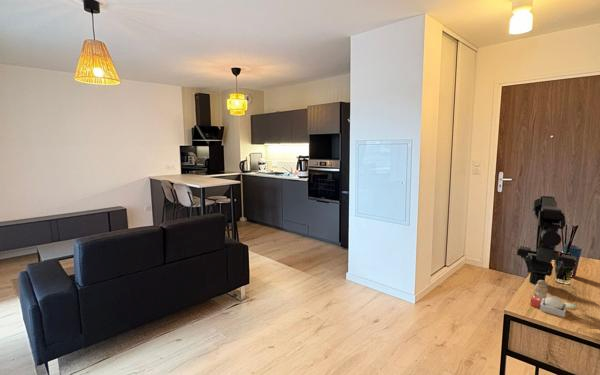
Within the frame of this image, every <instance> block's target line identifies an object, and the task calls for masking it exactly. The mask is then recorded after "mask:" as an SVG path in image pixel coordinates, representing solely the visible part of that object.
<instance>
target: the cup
mask: <svg viewBox="0 0 600 375" xmlns="http://www.w3.org/2000/svg"><path fill="white" fill-rule="evenodd" d="M568 244H569V243H565V244H563V252H565V251H566V250H567V246H568ZM582 251H583V247H582V246H579V245H576V244H571V246H570V249H569V253H570V254H572V256H575V258H576V264H575V267H574V271H573V275H572V277H571V278H576V275H577V270H578V267H579V262H580V258H581V255H582Z"/></svg>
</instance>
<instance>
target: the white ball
mask: <svg viewBox="0 0 600 375" xmlns="http://www.w3.org/2000/svg"><path fill="white" fill-rule="evenodd" d="M563 303H564V302H563V301H562V299H561V298H559V297H558V296H556V295H548V296H546V299H545V304H544V305H545V306H549V307H552V308H556V309H560V310H562V308H563Z"/></svg>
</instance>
